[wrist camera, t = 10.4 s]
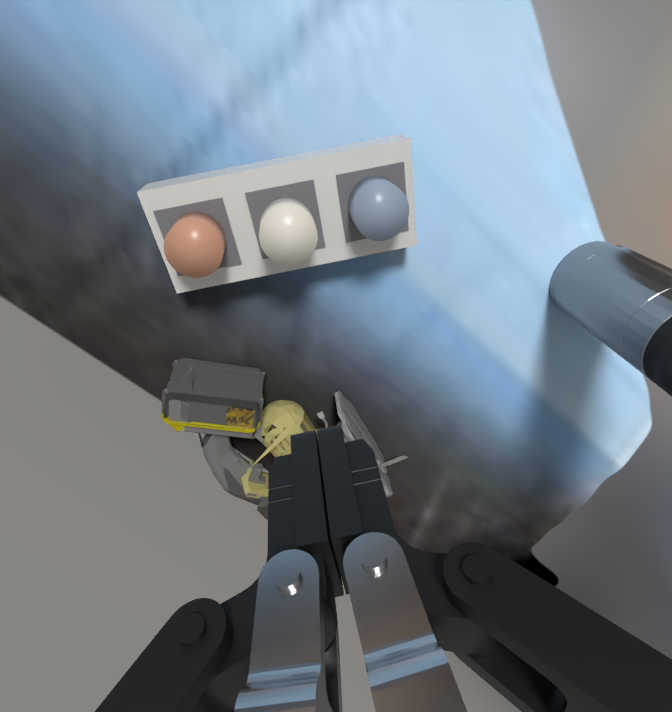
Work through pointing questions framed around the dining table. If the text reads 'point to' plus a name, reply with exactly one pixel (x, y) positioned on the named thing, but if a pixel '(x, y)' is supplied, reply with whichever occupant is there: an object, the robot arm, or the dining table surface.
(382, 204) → the slate button
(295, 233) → the cream button
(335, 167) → the console
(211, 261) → the terracotta button
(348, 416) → the circular saw
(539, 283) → the dining table surface
